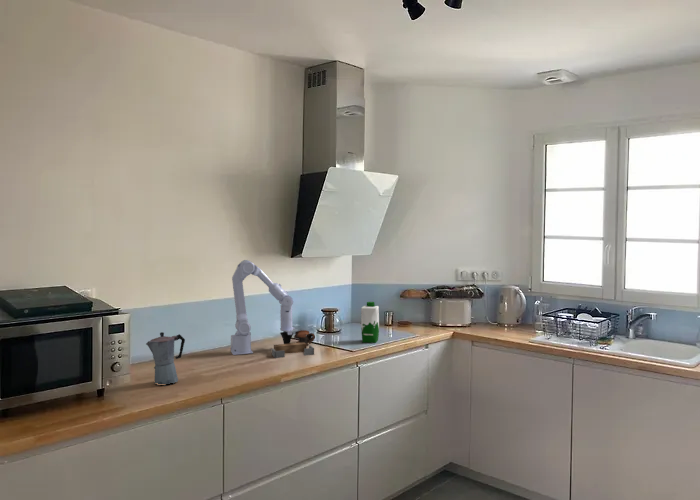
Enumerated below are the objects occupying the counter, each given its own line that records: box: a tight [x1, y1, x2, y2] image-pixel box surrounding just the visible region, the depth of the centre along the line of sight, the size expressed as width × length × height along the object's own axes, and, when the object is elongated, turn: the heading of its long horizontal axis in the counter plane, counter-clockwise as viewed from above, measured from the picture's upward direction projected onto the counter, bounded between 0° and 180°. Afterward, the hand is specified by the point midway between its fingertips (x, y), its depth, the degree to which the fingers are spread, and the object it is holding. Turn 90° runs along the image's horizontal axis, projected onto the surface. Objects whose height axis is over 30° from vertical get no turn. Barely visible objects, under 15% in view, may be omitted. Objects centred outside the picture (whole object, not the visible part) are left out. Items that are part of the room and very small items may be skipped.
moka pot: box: [145, 332, 186, 385], centre depth 223 cm, size 10×15×20 cm, turn 135°
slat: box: [273, 342, 307, 355], centre depth 273 cm, size 15×4×4 cm, turn 109°
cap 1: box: [271, 348, 286, 359], centre depth 265 cm, size 5×7×3 cm
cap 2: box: [303, 344, 315, 356], centre depth 270 cm, size 5×7×3 cm
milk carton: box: [360, 301, 380, 344], centre depth 294 cm, size 9×9×20 cm
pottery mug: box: [293, 329, 316, 347], centre depth 290 cm, size 12×10×8 cm
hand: (286, 346), depth 279 cm, fingers closed
